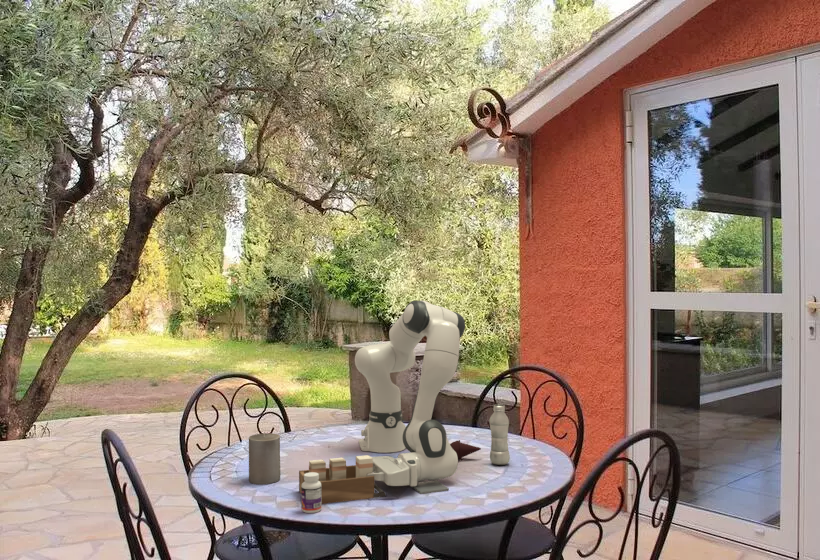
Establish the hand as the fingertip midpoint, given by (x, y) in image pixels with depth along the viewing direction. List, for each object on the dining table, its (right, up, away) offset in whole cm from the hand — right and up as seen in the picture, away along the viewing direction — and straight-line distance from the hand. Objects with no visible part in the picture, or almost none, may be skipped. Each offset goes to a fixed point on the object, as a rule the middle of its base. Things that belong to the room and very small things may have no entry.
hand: (362, 472), depth 200 cm
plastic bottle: (+44, -6, +29) cm, 53 cm away
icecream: (+31, -6, +36) cm, 48 cm away
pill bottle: (-13, -6, -16) cm, 21 cm away
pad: (+20, -5, +3) cm, 21 cm away
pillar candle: (-31, -6, +12) cm, 34 cm away
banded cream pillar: (+1, -6, 0) cm, 6 cm away
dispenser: (-6, -6, -2) cm, 8 cm away
